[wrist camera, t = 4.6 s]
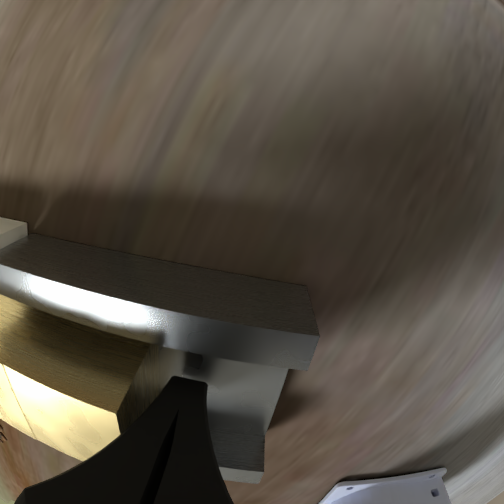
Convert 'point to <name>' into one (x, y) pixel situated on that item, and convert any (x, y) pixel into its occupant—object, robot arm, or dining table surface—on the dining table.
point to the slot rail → (180, 328)
